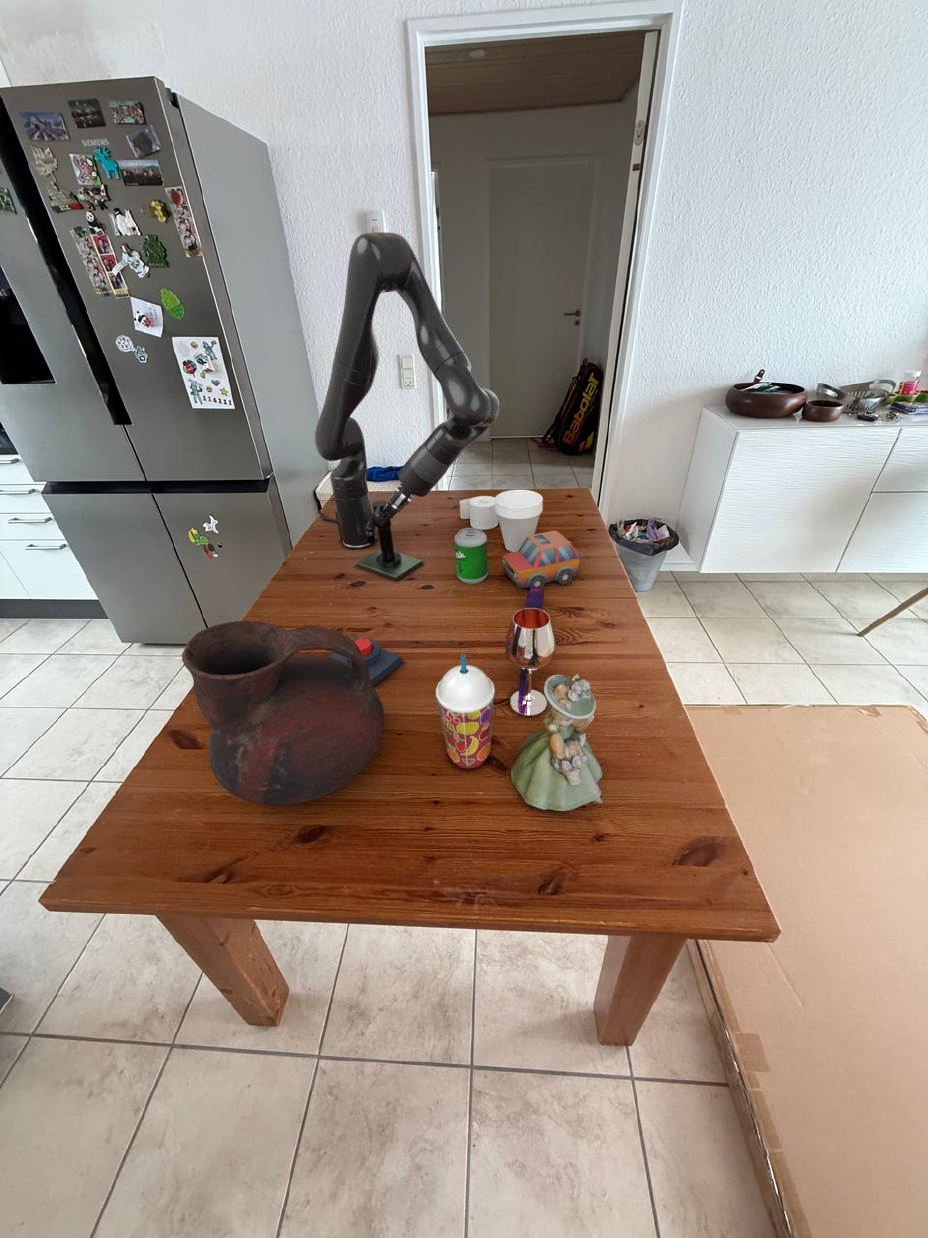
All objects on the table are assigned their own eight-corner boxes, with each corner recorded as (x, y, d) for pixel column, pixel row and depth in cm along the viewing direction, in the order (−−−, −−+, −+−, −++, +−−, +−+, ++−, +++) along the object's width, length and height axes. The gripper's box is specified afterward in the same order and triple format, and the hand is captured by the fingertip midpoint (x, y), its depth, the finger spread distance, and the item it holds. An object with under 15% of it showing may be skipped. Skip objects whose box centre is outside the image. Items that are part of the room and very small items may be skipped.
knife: (527, 602, 115) (527, 583, 112) (543, 603, 114) (544, 584, 111) (507, 720, 85) (507, 697, 82) (529, 722, 84) (530, 700, 81)
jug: (394, 817, 72) (367, 684, 57) (209, 849, 69) (131, 719, 55) (387, 695, 92) (365, 576, 78) (243, 717, 89) (193, 597, 75)
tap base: (356, 566, 132) (349, 527, 126) (383, 551, 139) (377, 513, 132) (396, 581, 125) (391, 540, 119) (422, 564, 132) (418, 525, 125)
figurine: (571, 852, 66) (585, 749, 55) (486, 794, 74) (482, 693, 62) (622, 779, 75) (644, 677, 63) (542, 734, 83) (547, 636, 71)
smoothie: (441, 736, 83) (431, 639, 72) (492, 731, 84) (489, 634, 72) (444, 778, 77) (433, 679, 65) (499, 773, 77) (498, 673, 65)
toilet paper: (460, 518, 154) (459, 496, 150) (498, 517, 153) (497, 495, 149) (459, 530, 147) (458, 507, 143) (498, 529, 147) (498, 506, 143)
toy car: (499, 573, 126) (499, 536, 120) (560, 559, 130) (562, 523, 124) (519, 596, 117) (519, 557, 111) (583, 580, 121) (587, 542, 115)
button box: (328, 664, 100) (325, 650, 98) (358, 643, 105) (355, 629, 103) (372, 686, 94) (369, 672, 92) (401, 663, 99) (399, 649, 97)
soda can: (488, 570, 127) (487, 526, 121) (486, 586, 121) (485, 540, 114) (458, 570, 128) (456, 526, 121) (455, 585, 122) (452, 540, 115)
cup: (548, 542, 139) (551, 493, 131) (528, 561, 130) (529, 511, 122) (508, 533, 144) (508, 486, 136) (486, 551, 136) (485, 502, 128)
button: (349, 653, 98) (347, 646, 97) (362, 643, 100) (361, 636, 99) (362, 659, 96) (360, 652, 95) (375, 649, 98) (374, 642, 97)
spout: (377, 522, 127) (374, 500, 124) (392, 522, 127) (389, 500, 124) (363, 549, 115) (359, 526, 112) (380, 549, 115) (376, 526, 112)
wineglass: (556, 691, 91) (562, 607, 80) (547, 724, 84) (552, 638, 74) (511, 683, 93) (512, 600, 83) (499, 714, 87) (498, 629, 77)
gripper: (418, 447, 111) (374, 501, 120) (402, 466, 100) (355, 524, 109) (444, 470, 113) (399, 522, 122) (432, 492, 102) (383, 547, 111)
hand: (378, 523), depth 115 cm, fingers closed
